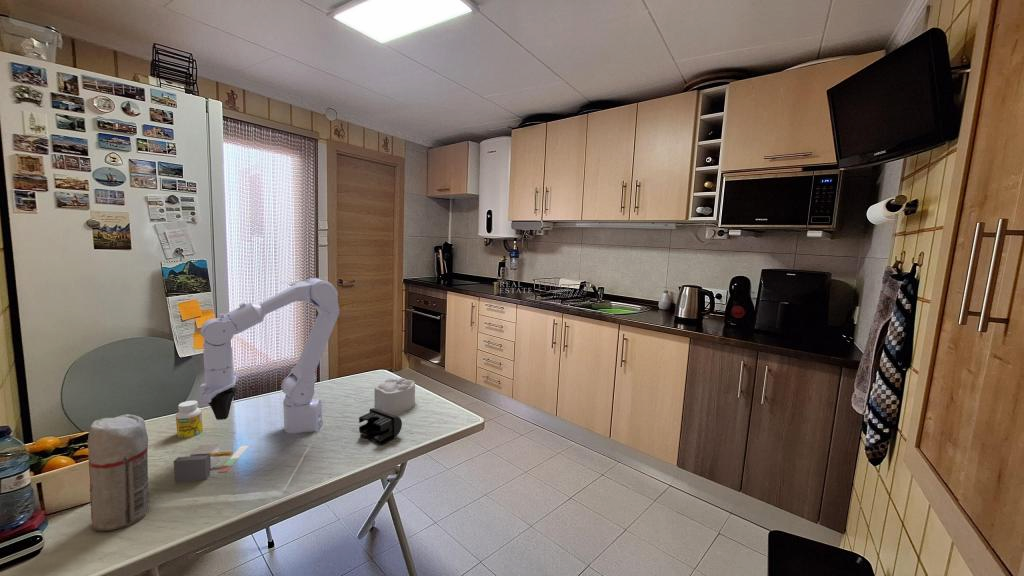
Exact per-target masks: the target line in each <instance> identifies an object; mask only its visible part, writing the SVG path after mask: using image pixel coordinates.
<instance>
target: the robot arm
mask: <svg viewBox="0 0 1024 576" xmlns="http://www.w3.org/2000/svg"><path fill="white" fill-rule="evenodd" d="M338 296H339V292H338V291H337V289H336V287H335V286H334V285H333V284H332V283H331V282H330V281H327V280H322V279H320V278H318V277H311V278H308V279H306V280H304V281H300V282H297V283H296V284H293V285H292V286H290V287H287V288H286V289H284V290H283V291H281V292H279V293H277V294H274V295H272V296H270V297H269V298H267V299H264V300H262V301H261V302H260V303H254V302H248V303H245V302H241V303H240V304H239V305H238V306H239V307H237V308H235V309H233V310H231V311H228V312H227V313H223V312H222V313H220V314H218V318H217V317H215V318H210V319H208V320H206V321H205V322H204V323H203V324H202V325H201V328H200V330H199V333H200V335H201V337H202V338H203V345H202V347H203V364H204V365H203V366H204V367H203V368H204V381H205V382H204V383H202V384H201V385H200V386H199V387H200V389H202V392H201V393H200V394H199V395H198V397H199V398H198V399H199V404H208V405H209V407H210V408H211V411H212V412H213V415H214V417H215V419H216V420H217V421H221V420H227V419H228V418H229V415H230V410H231V405H232V402H233V399H234V397H235V395H236V393H237V391H238V388H237V387H234V386H236V383H237V382H238V381H239V373H234V358H233V347H232V343H231V342H232V341H231V340H232V339H233V338H234V335H238V334H240V333H242V332H244V331H247V330H248V329H250V328H252V327H254V326H256V325H258V324H260V323H262V322H264V319H265V316H266V315H267V314H270V313H272V312H274V311H277V310H279V309H281V308H284V307H286V306H288V305H290V304H292V303H295V302H311V303H312V304H313V306H314V308H315V310H316V311H317V313H318V314H317V316H316V319H315V320H314V322H313V325H312V326H311V327H312V328H311V330H310V332H309V335H308V337H307V340H306V341H305V344H304V347H303V348H302V352H301V353H300V356H299V358H298V360H297V363H296V365H295V366H293V367H292V368H291V370H290V372H289V374H288V375H287V376H286V377H284V379H283V380H282V382H281V385H280V387H281V388H280V389H281V391H282V392H283V393H284V394H285V396H284V399H283V401H282V403H283V404H282V405H283V428H284V429H283V430H284V432H285V433H288V434H300V433H306V432H309V433H310V432H315V433H314V435H313V436H314V437H315V436H317V434H318V432H319V430H320V428H321V427H322V425H323V423H324V422H323V405H322V400H321V399H316V398H313V397H314V395H315V385H316V382H317V375H316V374H317V373H316V371H317V368H318V366H319V363H320V362H321V359H322V356H323V354H324V352H325V350H326V347H327V344H328V342H329V339H330V337H331V334H332V333H333V330H334V327H335V325H336V322H337V320H338V318H339V315H340V306H339V300H338V299H339V298H338Z"/></svg>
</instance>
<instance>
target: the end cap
mask: <svg viewBox="0 0 1024 576" xmlns="http://www.w3.org/2000/svg"><path fill="white" fill-rule="evenodd" d="M365 421H366V423H364V424H362V425H360V426H358V431H359V434H360V435H359V437H360V438H362V439H363V440H367V441H369V442H371V443H373V444H376V445H378V446H380V447H381V446H384V445H387V444H389V443H391V442H392V441H393V440H395V438H396V437H397V436H398V435H399V434H400V432H401V431H402V426H403V422H402V418H400V417H399V416H397V415H395V414H393V415H391V414H389V413H386V412H383V411H380V410H378V409H375V407H371V408H369V412H368V413H366V414H364V415H361V416H359V418H358V423H359V424H361V423H362V422H365Z"/></svg>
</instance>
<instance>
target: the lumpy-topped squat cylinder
mask: <svg viewBox="0 0 1024 576" xmlns="http://www.w3.org/2000/svg"><path fill="white" fill-rule="evenodd" d="M415 400H416V382H415V381H414V380H412V379H409V378H408V379H406V378H404V377H400V378H398V379H397V378H395V379H394V378H392V377H389V378H387V379H385V381H384V382H381V383H379V384H377V385H375V386H374V408H375V409H378V410H380V411H383V412H386V413H389V414H391V415H397V414H399V413H403V412H405V411H408V410H410V409H412V408H413V407H414V406H415V403H416V401H415Z"/></svg>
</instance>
